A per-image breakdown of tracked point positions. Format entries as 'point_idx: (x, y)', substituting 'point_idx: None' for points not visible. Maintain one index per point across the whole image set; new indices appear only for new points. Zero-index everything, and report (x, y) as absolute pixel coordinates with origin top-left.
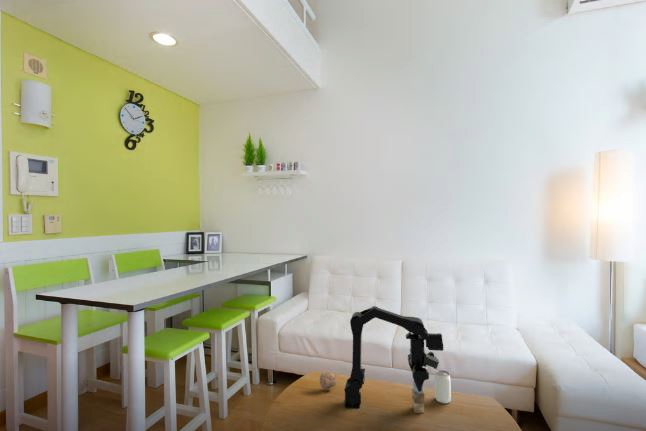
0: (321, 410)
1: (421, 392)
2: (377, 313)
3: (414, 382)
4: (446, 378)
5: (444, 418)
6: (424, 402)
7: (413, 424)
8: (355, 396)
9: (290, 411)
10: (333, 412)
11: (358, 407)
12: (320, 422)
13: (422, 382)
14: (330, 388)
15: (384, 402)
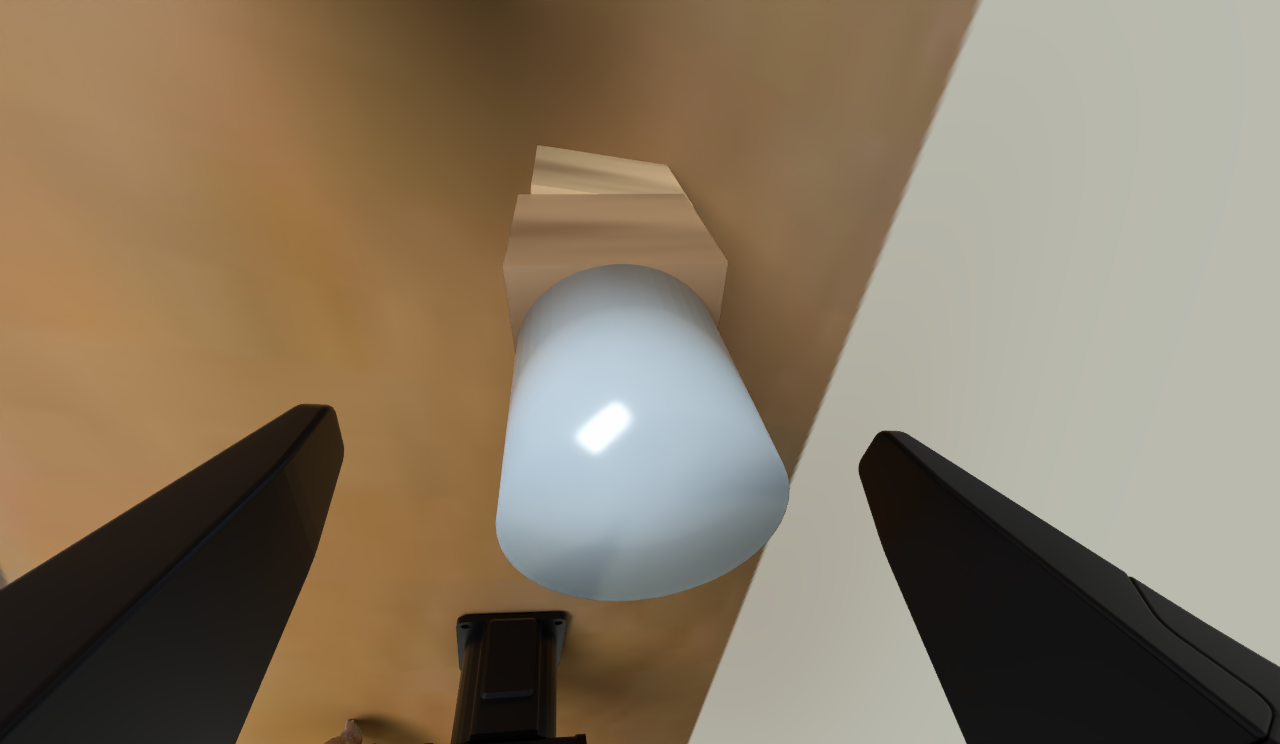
0: (585, 709)
1: (715, 326)
2: None
3: (676, 586)
4: None
5: None
6: (686, 197)
7: (835, 333)
8: (551, 706)
9: None
10: (605, 680)
11: (565, 619)
12: (684, 698)
13: (1243, 683)
14: (355, 732)
15: (463, 494)
